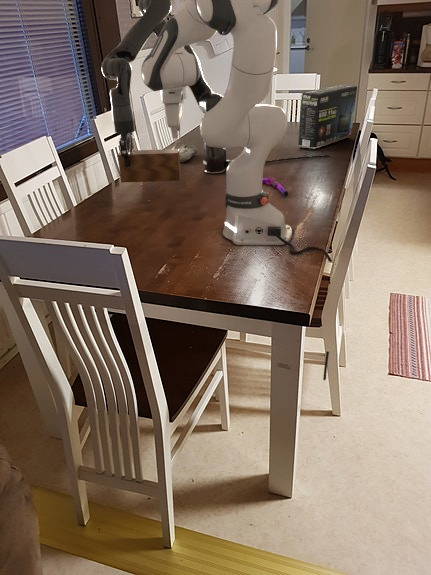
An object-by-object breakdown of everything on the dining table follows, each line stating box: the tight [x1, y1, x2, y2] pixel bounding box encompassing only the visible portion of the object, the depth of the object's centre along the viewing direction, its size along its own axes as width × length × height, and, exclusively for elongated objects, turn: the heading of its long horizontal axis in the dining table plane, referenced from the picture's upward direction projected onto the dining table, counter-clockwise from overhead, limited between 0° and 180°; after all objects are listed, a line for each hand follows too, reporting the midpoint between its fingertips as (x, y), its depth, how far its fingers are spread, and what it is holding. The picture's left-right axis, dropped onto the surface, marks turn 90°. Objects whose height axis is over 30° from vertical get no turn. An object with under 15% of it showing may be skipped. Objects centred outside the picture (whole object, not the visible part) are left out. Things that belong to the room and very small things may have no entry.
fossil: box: [171, 142, 199, 163], centre depth 229 cm, size 18×11×15 cm
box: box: [116, 148, 182, 183], centre depth 176 cm, size 23×6×11 cm, turn 89°
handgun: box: [262, 176, 289, 197], centre depth 185 cm, size 21×8×2 cm, turn 11°
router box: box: [297, 84, 358, 151], centre depth 238 cm, size 36×11×27 cm, turn 134°
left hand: (129, 163), depth 176 cm, fingers closed on box, 6 cm apart
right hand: (176, 134), depth 164 cm, fingers open, 8 cm apart
